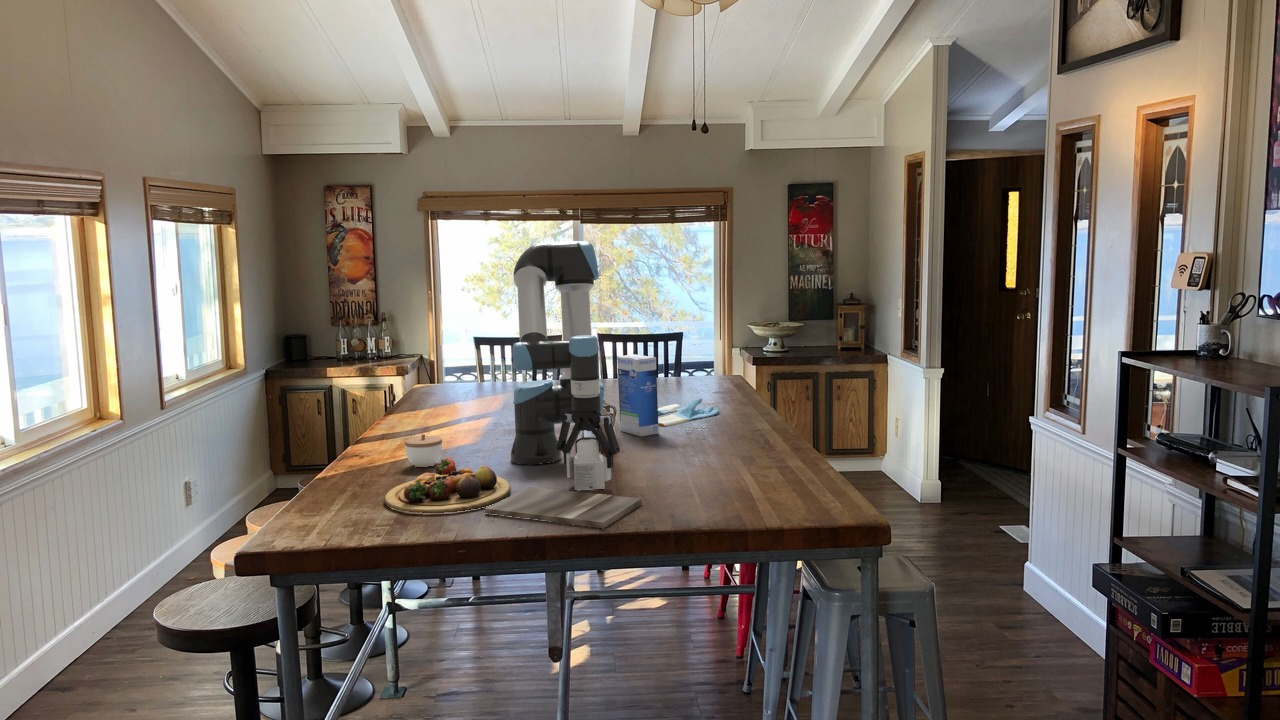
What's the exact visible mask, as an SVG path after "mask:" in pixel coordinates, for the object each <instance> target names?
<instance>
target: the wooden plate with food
mask: <svg viewBox="0 0 1280 720" xmlns="http://www.w3.org/2000/svg"><path fill="white" fill-rule="evenodd" d="M434 471H435V473H434V472H424V473H421V474H420V475H418V476H417V478H415V479H414V480H409V481H407V482H404V483H400V484H399V485H397V486H395V487H393V488H391V489H390V490H389V491H388V492H387V493H386V494H385V496H384V500H383V501H384V505H385V504H386V505H388V506H389V507H391V508H394V509H397V510H402V511H409V512H418V513H419V512H422V513H444V512H457V511H465V510H471V509H478V508H482V507H486V506H489V505H492V504H495V503H497V502H499V501H501V500H503V499H505V498H506V497H507V496H508V495H509V496H510V493H511V491H512V490H511V489H512V488H511V484H510V483H509V482H508V481H507V480H506V479H504V478H502V477H500V476H497V475H496V473H495V471H494V470H493V469H492V468H491V467H489V466H487V465H484V464H483V465H481V466H480V467H479V468H478V469H477V470H476V472H474V471H473V470H472V469H471V468H470V467H466V468H461V469H459V470H457V467H456V463H455V461H454V460H453V459H452V458H451V457H450V458H449V457H445V458H444V459H441V461H440V462H437V463H436V465H435V468H434ZM509 496H508V497H509ZM508 497H507V498H508ZM386 505H385V506H386Z"/></svg>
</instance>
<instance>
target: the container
mask: <svg viewBox="0 0 1280 720" xmlns="http://www.w3.org/2000/svg"><path fill="white" fill-rule="evenodd" d="M574 447H575V455H574V476H573V479H574V480H573V481H574V491H575V490H586V489H604V490H605V484H606V483H605V481H604V469H603V456H604V455H603V454H602V452H601V450H602V449H601V446H600V444H599V442H598V440H597V438H596V437H595V436H594V437H592V436H588V437H587V436H586V437H585V436H584V437H580V438H577V439H576V441H575V443H574Z"/></svg>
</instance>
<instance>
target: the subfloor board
mask: <svg viewBox="0 0 1280 720" xmlns="http://www.w3.org/2000/svg"><path fill="white" fill-rule="evenodd" d="M641 504H642V498H639V497H638V498H637V497H628V496H620V495H612V494H604V493H591V492H583V491H571V490H570V491H569V490H560V489H550V488H542V487H535V486H534V487H532V486H529V487H527V488H525V489H523V490H521V491H518V492H517V493H514V494H512V495H511V496H510V495H509V496H508V497H507V498H506V499H504V500H502V501H499V502H497V503H495V504H493V505H491V506H489V507H487V508H484V514H485V513H488V514H489V513H490V514H497V515H504V516H512V517H520V518H530V519H538V520H545V521H546V520H547V521H551V522H558V523H564V524H563V525H567V524H574V525H573V526H575V525H583V526H590V527H589V528H591V527H595V528H594V529H599V528H601V529H600V530H604V529H606V528H608V527H609V526H611V525H612V524H614V523H615V522H617V521H619V520H620V519H621V518H623V517H624V515H625V514H626V515H628V514H629V513H630V511H631V510H632V511H634V510H635V508H636V507H637V508H639V507H640V506H642V505H643V504H642V505H641ZM638 506H639V507H638ZM637 508H636V509H637ZM633 509H634V510H633ZM632 511H631V512H632ZM628 512H629V513H628ZM627 513H628V514H627ZM626 515H625V516H626ZM622 516H623V517H622ZM619 518H620V519H619ZM616 520H617V521H616ZM613 522H614V523H613ZM558 523H557V524H558ZM583 526H582V527H583ZM605 527H606V528H605Z"/></svg>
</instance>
